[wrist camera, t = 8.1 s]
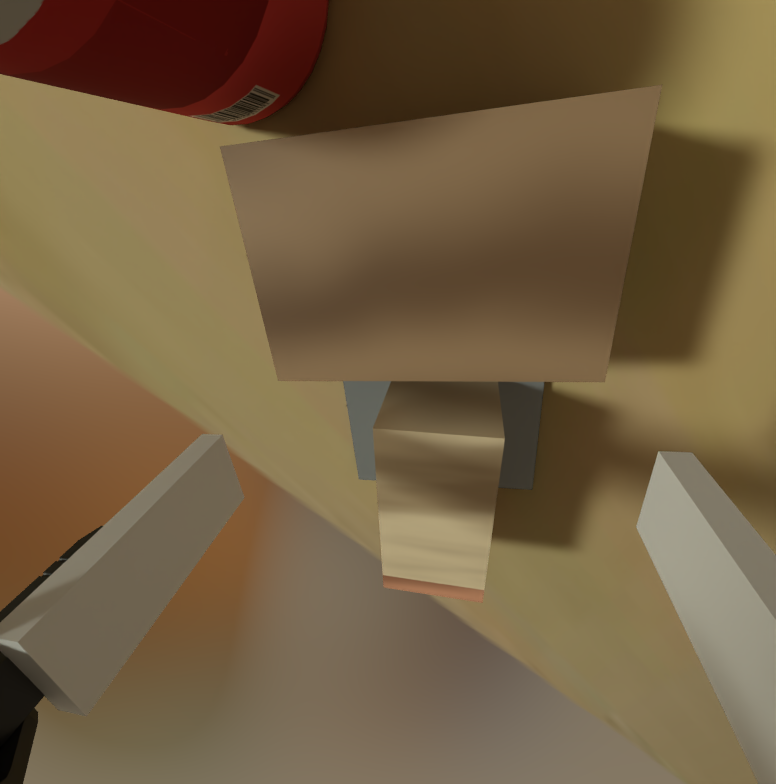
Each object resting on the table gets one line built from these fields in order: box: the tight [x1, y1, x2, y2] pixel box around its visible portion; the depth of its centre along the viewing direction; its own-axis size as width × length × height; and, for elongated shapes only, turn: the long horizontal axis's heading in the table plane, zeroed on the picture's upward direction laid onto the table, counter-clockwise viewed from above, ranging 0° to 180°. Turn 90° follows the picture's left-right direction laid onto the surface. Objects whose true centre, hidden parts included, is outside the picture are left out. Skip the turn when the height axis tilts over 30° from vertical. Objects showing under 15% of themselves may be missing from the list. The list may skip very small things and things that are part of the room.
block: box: [373, 381, 505, 603], centre depth 19 cm, size 5×5×10 cm
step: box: [220, 85, 662, 382], centre depth 14 cm, size 8×12×5 cm, turn 95°
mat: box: [343, 381, 544, 490], centre depth 21 cm, size 8×10×1 cm
